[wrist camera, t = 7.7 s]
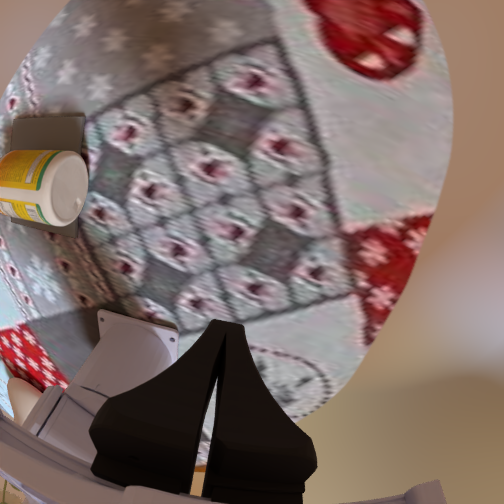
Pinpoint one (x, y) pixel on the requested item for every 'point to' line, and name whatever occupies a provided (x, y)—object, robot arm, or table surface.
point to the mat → (48, 138)
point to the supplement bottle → (43, 185)
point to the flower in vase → (19, 419)
